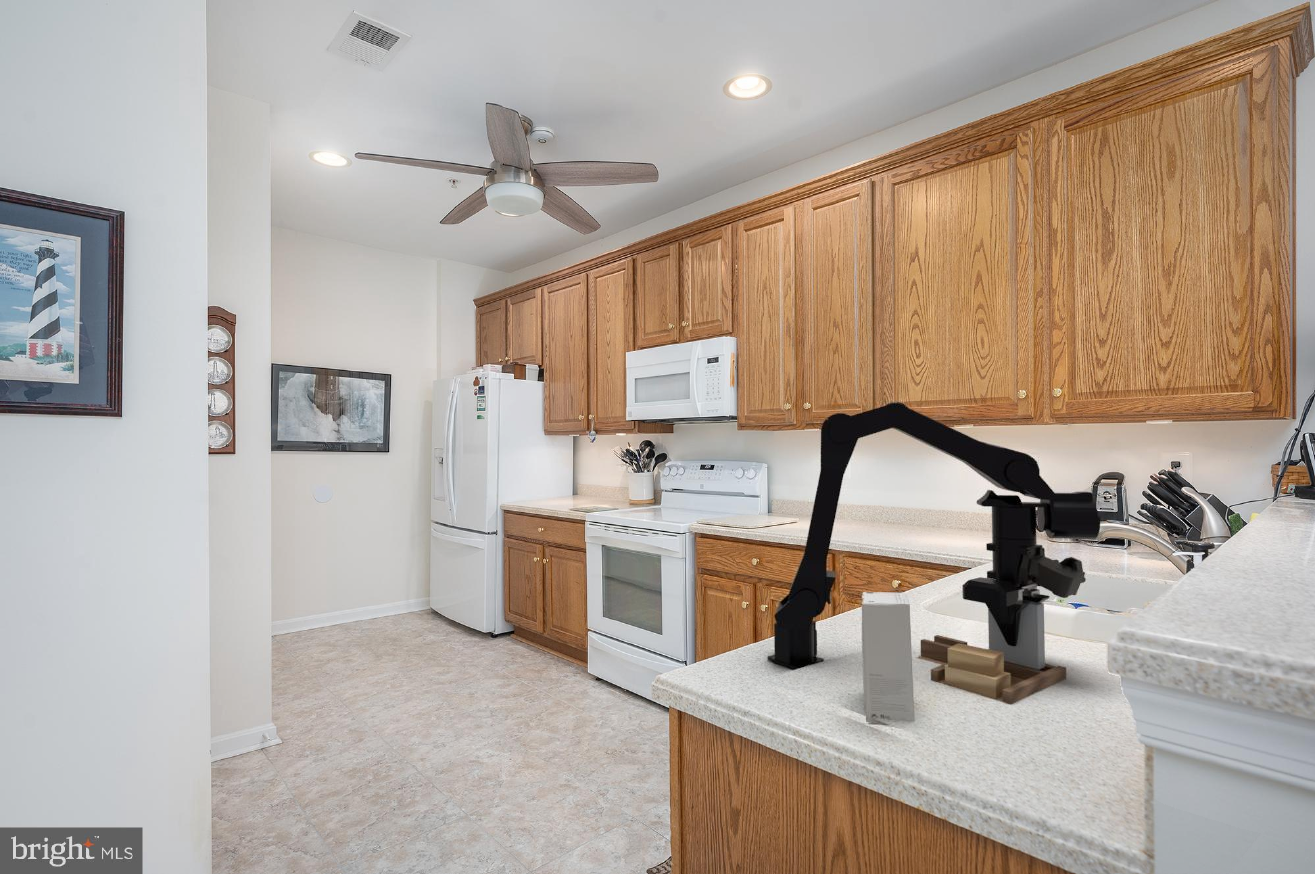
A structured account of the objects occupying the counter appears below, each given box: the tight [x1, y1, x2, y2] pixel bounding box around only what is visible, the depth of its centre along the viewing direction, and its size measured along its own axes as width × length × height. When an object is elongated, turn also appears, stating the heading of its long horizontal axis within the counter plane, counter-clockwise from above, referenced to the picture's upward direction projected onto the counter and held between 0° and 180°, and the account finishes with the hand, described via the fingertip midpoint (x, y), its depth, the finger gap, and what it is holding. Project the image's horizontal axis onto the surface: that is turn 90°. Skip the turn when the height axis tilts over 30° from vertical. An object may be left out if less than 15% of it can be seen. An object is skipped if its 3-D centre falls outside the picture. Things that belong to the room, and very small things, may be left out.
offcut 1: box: [948, 643, 1004, 677], centre depth 89 cm, size 4×6×2 cm, turn 44°
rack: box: [930, 661, 1067, 705], centre depth 92 cm, size 16×11×2 cm
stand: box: [916, 634, 968, 666], centre depth 102 cm, size 7×5×4 cm
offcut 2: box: [944, 665, 1011, 700], centre depth 89 cm, size 4×7×2 cm, turn 36°
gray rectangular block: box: [987, 600, 1046, 670], centre depth 95 cm, size 2×7×9 cm, turn 36°
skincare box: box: [861, 591, 916, 726], centre depth 83 cm, size 8×6×15 cm
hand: (1015, 644), depth 95 cm, fingers closed on gray rectangular block, 2 cm apart
